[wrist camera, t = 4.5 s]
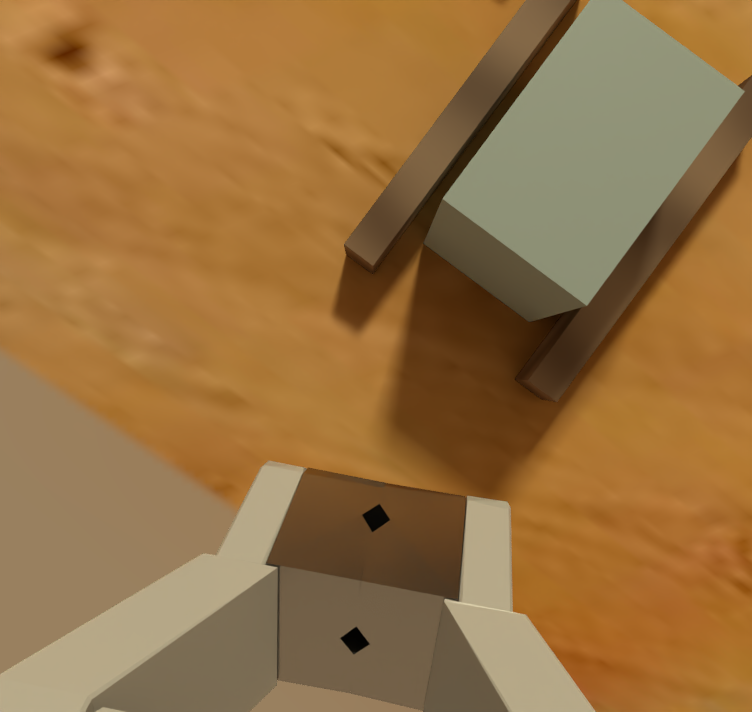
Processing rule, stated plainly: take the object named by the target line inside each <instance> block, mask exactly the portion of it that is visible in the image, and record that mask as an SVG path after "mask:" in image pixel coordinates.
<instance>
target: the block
mask: <svg viewBox="0 0 752 712" xmlns="http://www.w3.org/2000/svg"><path fill="white" fill-rule="evenodd" d="M744 92H745V91H744V90H742V89H741V88H740V87H738V86H737V85H736V84H734V83H733V82H732V81H730V80H729V79H728V78H726V77H725V76H724V75H722V74H721V73H719V72H718V71H717V70H715V69H714V68H713V67H711V66H710V65H709V64H707V63H706V62H705V61H703V60H702V59H701V58H699V57H698V56H696V55H695V54H694V53H692V52H691V51H690V50H688V49H687V48H686V47H684V46H683V45H682V44H680V43H679V42H678V41H676V40H675V39H673V38H672V37H671V36H669V35H668V34H667V33H665V32H664V31H663V30H661V29H660V28H659V27H657V26H656V25H655V24H653V23H652V22H650V21H649V20H648V19H646V18H645V17H644V16H642V15H641V14H640V13H638V12H637V11H636V10H634V9H633V8H632V7H630V6H629V5H627V4H626V3H625V2H623V1H622V0H590V1H589V2H588V4H587V5H586V6H585V8H584V9H583V10H582V12H581V13H580V15H579V16H578V17H577V19H576V20H575V21H574V23H573V24H572V25H571V27H570V28H569V29H568V31H567V32H566V33H565V35H564V36H563V37H562V39H561V40H560V41H559V43H558V44H557V45H556V47H555V48H554V49H553V51H552V52H551V54H550V55H549V56H548V58H547V59H546V60H545V62H544V63H543V64H542V66H541V67H540V68H539V70H538V71H537V72H536V74H535V75H534V76H533V78H532V79H531V80H530V82H529V83H528V84H527V86H526V87H525V88H524V90H523V91H522V93H521V94H520V95H519V97H518V98H517V99H516V101H515V102H514V103H513V105H512V106H511V107H510V109H509V110H508V111H507V113H506V114H505V115H504V117H503V118H502V119H501V121H500V122H499V123H498V125H497V126H496V127H495V129H494V130H493V131H492V133H491V134H490V136H489V137H488V138H487V140H486V141H485V142H484V144H483V145H482V146H481V148H480V149H479V150H478V152H477V153H476V154H475V156H474V157H473V158H472V160H471V161H470V162H469V164H468V165H467V166H466V168H465V169H464V170H463V172H462V173H461V175H460V176H459V177H458V179H457V180H456V181H455V183H454V184H453V185H452V187H451V188H450V189H449V191H448V192H447V193H446V195H445V196H444V197H443V199H442V201H441V203H440V206H439V208H438V210H437V213H436V215H435V217H434V220H433V222H432V224H431V226H430V229H429V231H428V233H427V236H426V238H425V240H424V243H423V244H425V245H426V246H427V247H429V248H430V249H431V250H433V251H434V252H435V253H437V254H438V255H439V256H441V257H442V258H443V259H445V260H446V261H447V262H449V263H450V264H452V265H453V266H454V267H456V268H457V269H458V270H460V271H461V272H462V273H464V274H465V275H466V276H468V277H469V278H470V279H472V280H473V281H474V282H476V283H477V284H479V285H480V286H481V287H483V288H484V289H485V290H487V291H488V292H489V293H491V294H492V295H493V296H495V297H496V298H497V299H499V300H500V301H501V302H503V303H504V304H505V305H507V306H508V307H510V308H511V309H512V310H514V311H515V312H516V313H518V314H519V315H520V316H522V317H523V318H524V319H526V320H527V321H528V322H531V321H535V320H538V319H542V318H546V317H549V316H553V315H556V314H560V313H563V312H567V311H570V310H574V309H578V308H581V307H585V306H587V305H588V304H589V302H590V301H591V300H592V298H593V297H594V296H595V294H596V293H597V292H598V290H599V289H600V287H601V286H602V285H603V283H604V282H605V281H606V279H607V278H608V277H609V275H610V274H611V272H612V271H613V270H614V268H615V267H616V266H617V264H618V263H619V262H620V260H621V259H622V258H623V256H624V255H625V253H626V252H627V251H628V249H629V248H630V247H631V245H632V244H633V243H634V241H635V240H636V239H637V237H638V236H639V234H640V233H641V232H642V230H643V229H644V228H645V226H646V225H647V224H648V222H649V221H650V219H651V218H652V217H653V215H654V214H655V213H656V211H657V210H658V209H659V207H660V206H661V205H662V203H663V202H664V200H665V199H666V198H667V196H668V195H669V194H670V192H671V191H672V190H673V188H674V187H675V186H676V184H677V183H678V181H679V180H680V179H681V177H682V176H683V175H684V173H685V172H686V171H687V169H688V168H689V166H690V165H691V164H692V162H693V161H694V160H695V158H696V157H697V156H698V154H699V153H700V152H701V150H702V149H703V147H704V146H705V145H706V143H707V142H708V141H709V139H710V138H711V137H712V135H713V134H714V133H715V131H716V130H717V128H718V127H719V126H720V124H721V123H722V122H723V120H724V119H725V118H726V116H727V115H728V113H729V112H730V111H731V109H732V108H733V107H734V105H735V104H736V103H737V101H738V100H739V99H740V97H741V96H742V94H743V93H744Z"/></svg>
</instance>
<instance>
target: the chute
mask: <svg viewBox="0 0 752 712" xmlns="http://www.w3.org/2000/svg"><path fill="white" fill-rule="evenodd" d="M575 2H576V0H526V1H525V2H524V4H523V5H522V6H521V8H520V9H519V10H518V12H517V13H516V14H515V16H514V17H513V18H512V20H511V21H510V22H509V24H508V25H507V26H506V28H505V29H504V30H503V32H502V33H501V34H500V36H499V37H498V38H497V40H496V41H495V43H494V44H493V45H492V47H491V48H490V49H489V51H488V52H487V53H486V55H485V56H484V57H483V59H482V60H481V61H480V63H479V64H478V65H477V67H476V68H475V69H474V71H473V72H472V73H471V75H470V76H469V77H468V79H467V80H466V81H465V83H464V84H463V85H462V87H461V88H460V89H459V91H458V92H457V93H456V95H455V96H454V97H453V99H452V100H451V101H450V103H449V104H448V106H447V107H446V108H445V110H444V111H443V112H442V114H441V115H440V116H439V118H438V119H437V120H436V122H435V123H434V124H433V126H432V127H431V128H430V130H429V131H428V132H427V134H426V135H425V136H424V138H423V139H422V140H421V142H420V143H419V144H418V146H417V147H416V148H415V150H414V151H413V152H412V154H411V155H410V156H409V158H408V159H407V160H406V162H405V163H404V165H403V166H402V167H401V169H400V170H399V171H398V173H397V174H396V175H395V177H394V178H393V179H392V181H391V182H390V183H389V185H388V186H387V187H386V189H385V190H384V191H383V193H382V194H381V195H380V197H379V198H378V199H377V201H376V202H375V203H374V205H373V206H372V207H371V209H370V210H369V211H368V213H367V214H366V215H365V217H364V218H363V219H362V221H361V222H360V223H359V225H358V226H357V228H356V229H355V230H354V232H353V233H352V234H351V236H350V237H349V238H348V240H347V241H346V242H345V244H344V247H345V251H346V255H347V256H349V257H350V258H351V259H353V260H354V261H356V262H357V263H358V264H360V265H361V266H362V267H364V268H365V269H366V270H368V271H369V272H370V273H372V274H373V273H374V272H375V271H376V269H377V268H378V267H379V265H380V264H381V263H382V261H383V260H384V258H385V257H386V256H387V254H388V253H389V252H390V250H391V249H392V248H393V246H394V245H395V244H396V242H397V241H398V240H399V238H400V237H401V236H402V234H403V233H404V232H405V230H406V229H407V228H408V226H409V225H410V224H411V222H412V221H413V220H414V218H415V217H416V215H417V214H418V213H419V211H420V210H421V209H422V207H423V206H424V205H425V203H426V202H427V201H428V199H429V198H430V197H431V195H432V194H433V193H434V191H435V190H436V189H437V187H438V186H439V185H440V183H441V182H442V181H443V179H444V178H445V177H446V175H447V174H448V172H449V171H450V170H451V168H452V167H453V166H454V164H455V163H456V162H457V160H458V159H459V158H460V156H461V155H462V154H463V152H464V151H465V150H466V148H467V147H468V146H469V144H470V143H471V142H472V140H473V139H474V138H475V136H476V135H477V134H478V132H479V131H480V129H481V128H482V127H483V125H484V124H485V123H486V121H487V120H488V119H489V117H490V116H491V115H492V113H493V112H494V111H495V109H496V108H497V107H498V105H499V104H500V103H501V101H502V100H503V99H504V97H505V96H506V95H507V93H508V92H509V90H510V89H511V88H512V86H513V85H514V84H515V82H516V81H517V80H518V78H519V77H520V76H521V74H522V73H523V72H524V70H525V69H526V68H527V66H528V65H529V64H530V62H531V61H532V60H533V58H534V57H535V56H536V54H537V53H538V52H539V50H540V49H541V47H542V46H543V45H544V43H545V42H546V41H547V39H548V38H549V37H550V35H551V34H552V33H553V31H554V30H555V29H556V27H557V26H558V25H559V23H560V22H561V21H562V19H563V18H564V17H565V15H566V14H567V13H568V11H569V10H570V9H571V7H572V6H573V4H574V3H575ZM738 87H740V88H741V89H742V90H744V91H745V92H744V93H743V94H742V96H741V97H740V99H739V100H738V101H737V103H736V104H735V105H734V107H733V108H732V109H731V111H730V112H729V113H728V115H727V116H726V118H725V119H724V120H723V122H722V123H721V124H720V126H719V127H718V128H717V130H716V131H715V133H714V134H713V135H712V137H711V138H710V139H709V141H708V142H707V143H706V145H705V146H704V147H703V149H702V150H701V152H700V153H699V154H698V156H697V157H696V158H695V160H694V161H693V162H692V164H691V165H690V166H689V168H688V169H687V171H686V172H685V173H684V175H683V176H682V177H681V179H680V180H679V181H678V183H677V184H676V186H675V187H674V188H673V190H672V191H671V192H670V194H669V195H668V196H667V198H666V199H665V200H664V202H663V203H662V205H661V206H660V207H659V209H658V210H657V211H656V213H655V214H654V215H653V217H652V218H651V219H650V221H649V222H648V224H647V225H646V226H645V228H644V229H643V230H642V232H641V233H640V234H639V236H638V237H637V239H636V240H635V241H634V243H633V244H632V245H631V247H630V248H629V249H628V251H627V252H626V253H625V255H624V256H623V258H622V259H621V260H620V262H619V263H618V264H617V266H616V267H615V268H614V270H613V271H612V272H611V274H610V275H609V277H608V278H607V279H606V281H605V282H604V283H603V285H602V286H601V287H600V289H599V290H598V292H597V293H596V294H595V296H594V297H593V298H592V300H591V301H590V302H589V304H588V305H587V306H585V307H581V308H578V309H574V310H570V311H567V312H564V313H563V314H562V316H561V317H560V319H559V320H558V321H557V323H556V324H555V325H554V327H553V328H552V329H551V331H550V332H549V333H548V335H547V336H546V338H545V339H544V340H543V342H542V343H541V344H540V346H539V347H538V348H537V350H536V351H535V352H534V354H533V355H532V357H531V358H530V359H529V361H528V362H527V363H526V365H525V366H524V367H523V369H522V370H521V371H520V373H519V374H518V376H517V377H516V378H515V380H516V381H517V382H519V383H520V384H521V385H523V386H524V387H525V388H527V389H528V390H530V391H531V392H532V393H534V394H535V395H536V396H538V397H539V398H540V399H543V400H548V401H554V402H557V401H558V400H559V399H560V397H561V396H562V395H563V393H564V392H565V391H566V389H567V388H568V386H569V385H570V384H571V382H572V381H573V380H574V378H575V377H576V376H577V374H578V373H579V372H580V370H581V369H582V367H583V366H584V365H585V363H586V362H587V361H588V359H589V358H590V357H591V355H592V354H593V352H594V351H595V350H596V348H597V347H598V346H599V344H600V343H601V342H602V340H603V339H604V337H605V336H606V335H607V333H608V332H609V331H610V329H611V328H612V327H613V325H614V324H615V322H616V321H617V320H618V318H619V317H620V316H621V314H622V313H623V312H624V310H625V309H626V307H627V306H628V305H629V303H630V302H631V301H632V299H633V298H634V297H635V295H636V294H637V292H638V291H639V290H640V288H641V287H642V286H643V284H644V283H645V282H646V280H647V279H648V277H649V276H650V275H651V273H652V272H653V271H654V269H655V268H656V267H657V265H658V264H659V263H660V261H661V260H662V258H663V257H664V256H665V254H666V253H667V252H668V250H669V249H670V248H671V246H672V245H673V243H674V242H675V241H676V239H677V238H678V237H679V235H680V234H681V233H682V231H683V230H684V228H685V227H686V226H687V224H688V223H689V222H690V220H691V219H692V218H693V216H694V215H695V213H696V212H697V211H698V209H699V208H700V207H701V205H702V204H703V203H704V201H705V200H706V198H707V197H708V196H709V194H710V193H711V192H712V190H713V189H714V188H715V186H716V185H717V183H718V182H719V181H720V179H721V178H722V177H723V175H724V174H725V173H726V171H727V170H728V168H729V167H730V166H731V164H732V163H733V162H734V160H735V159H736V158H737V156H738V155H739V154H740V152H741V151H742V149H743V148H744V147H745V145H746V144H747V143H748V141H749V140H750V139H751V137H752V76H750V77H749V78H748V79H746V80H745V81H744V82H742V83H741V84H740V85H738Z"/></svg>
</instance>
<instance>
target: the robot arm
mask: <svg viewBox="0 0 752 712" xmlns="http://www.w3.org/2000/svg"><path fill="white" fill-rule="evenodd" d="M277 680H280V681H285V682H291V683H296V684H302V685H308V686H313V687H319V688H324V689H330V690H336V691H341V692H346V693H351V694H355V695H360V696H364V697H368V698H372V699H376V700H381V701H385V702H389V703H393V704H397V705H401V706H406V707H410V708H414V709H418V710H422V711H423V712H596V711H595V710H594V709H593V707H592V706H591V704H590V703H589V702H588V700H587V699H586V697H585V696H584V695H583V693H582V692H581V690H580V689H579V688H578V686H577V685H576V684H575V682H574V681H573V679H572V678H571V677H570V675H569V674H568V672H567V671H566V670H565V668H564V667H563V665H562V664H561V663H560V661H559V660H558V658H557V657H556V656H555V654H554V653H553V651H552V650H551V649H550V647H549V646H548V645H547V643H546V642H545V640H544V639H543V638H542V636H541V635H540V633H539V632H538V631H537V629H536V628H535V626H534V625H533V624H532V622H531V621H530V619H529V618H528V617H527V615H524V614H519V613H515V612H513V609H512V552H511V507H510V506H509V504H508V502H506V501H499V500H493V499H486V498H479V497H473V496H467V497H465V496H461V495H455V494H449V493H443V492H437V491H431V490H425V489H419V488H413V487H407V486H401V485H395V484H389V483H384V482H379V481H374V480H369V479H363V478H358V477H353V476H348V475H343V474H338V473H333V472H328V471H323V470H318V469H313V468H307V469H306V468H304V467H299V466H294V465H289V464H284V463H278V462H273V461H268V462H267V463H265V464H264V465H263V466H262V467H261V468H260V470H259V472H258V474H257V476H256V478H255V480H254V481H253V483H252V485H251V487H250V489H249V491H248V493H247V495H246V497H245V499H244V501H243V503H242V505H241V507H240V509H239V511H238V512H237V514H236V516H235V518H234V520H233V522H232V524H231V526H230V528H229V530H228V532H227V534H226V536H225V538H224V540H223V541H222V543H221V545H220V547H219V549H218V551H217V553H216V555H210V554H205V553H202V554H201V555H199V556H197V557H196V558H194V559H192V560H191V561H189V562H187V563H186V564H184V565H182V566H181V567H179V568H177V569H176V570H174V571H172V572H171V573H169V574H167V575H166V576H164V577H162V578H161V579H159V580H157V581H156V582H154V583H152V584H151V585H149V586H147V587H145V588H144V589H142V590H141V591H139V592H137V593H135V594H134V595H132V596H130V597H129V598H127V599H125V600H124V601H122V602H120V603H119V604H117V605H115V606H114V607H112V608H110V609H109V610H107V611H105V612H104V613H102V614H100V615H99V616H97V617H95V618H93V619H92V620H90V621H88V622H87V623H85V624H83V625H82V626H80V627H78V628H77V629H75V630H73V631H72V632H70V633H68V634H67V635H65V636H63V637H62V638H60V639H58V640H57V641H55V642H53V643H52V644H50V645H48V646H47V647H45V648H43V649H41V650H40V651H38V652H36V653H35V654H33V655H32V656H30V657H28V658H26V659H25V660H23V661H21V662H20V663H18V664H16V665H15V666H13V667H11V668H10V669H8V670H6V671H5V672H3V673H1V674H0V712H250V711H251V710H252V709H253V708H254V707H255V706H256V705H257V704H258V703H259V702H260V701H261V700H262V699H263V698H264V697H265V696H266V695H267V694H268V693H269V692H270V691H271V690H272V689H273V688H274V687H275V686H276V685H277ZM350 691H351V692H350Z"/></svg>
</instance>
